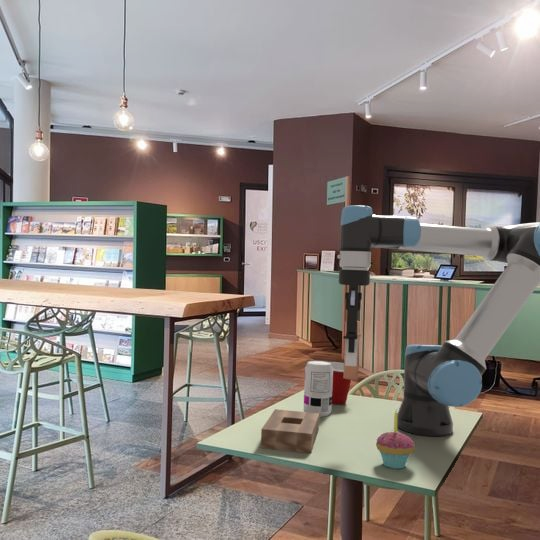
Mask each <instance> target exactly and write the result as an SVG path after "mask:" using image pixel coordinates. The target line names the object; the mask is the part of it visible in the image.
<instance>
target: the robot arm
mask: <svg viewBox="0 0 540 540" xmlns="http://www.w3.org/2000/svg"><path fill="white" fill-rule="evenodd" d="M339 226H340V240H339V241H340V242H339V243H340V245H339V254H337V259H339V267H340V268H341V269H339V271H338V283H339V285H341V286H348V291H346V292H345V295H344V296H345V297H344V298H345V310H346V321H347V333H346V336H345V335H344V336H343V339H344V340H345V339H346V357H345V366H357V337H358V336H357V322H358V321H359V312H360V311H361V304H362V303H361V301H362V299H363V292H360V290H359V289H360V286H362V287H363V286H365V287H366V286H369V285H370V284H371V283H370V282H371V280H370V279H371V271H370V270H369V269H370V268H371V263H372V261H371V259H372V258H371V257H372V252H371V251H372V248H373V249H381V248H382V249H393V250H396V249H397V250H405V251H419V252H427V253H428V252H430V253H439V254H440V253H441V254H442V253H443V254H453V255H454V254H455V255H464V256H465V255H466V256H478V257H482V258H483V259H484V260H485V261H492V262H499V263H503V264H504V263H505V264H507V266H505V268H504V269H503V271H502V273H501V274H500V275H499V277H498V278H497V280H496V281H495V283H494V284H493V286H491V288H490V289H489V291H488V293H487V294H486V295H484V298H483V299H482V301H481V302H480V303H479V304H478V306H477V307H476V309H475V310H474V312H473V313H472V314H471V316H470V317H469V319H468V320H467V321H466V323H465V324H464V326H463V327H462V328H461V330H460V331H459V333H458V334H457V335H456V337H455V338H454V339H450V340H445V341H444V343H443V344H441V345H440V344H438V345H437V344H409V345H407V346H406V347H405V354H404V370H403V372H404V373H403V397H402V400H401V402H400V405H399V408H398V411H397V412H396V413H397V429H400V430H401V431H403V432H407V433H410V434H415V435H419V436H429V437H430V436H431V437H441V436H448V435H450V434H452V433H453V431H454V430H453V429H454V423H453V419H452V415H451V411H450V408H449V407H452V408H460V407H464V406H467V405H469V404H472V402H473V401H475V400H476V399H477V398H478V397H479V395H480V393H481V392H482V388H483V382H482V379H483V377H482V376H483V374H484V373H485V372H486V370H487V365H486V358H487V357H488V355H489V354H490V353H491V352H492V350H493V349H494V348H495V346H496V344H497V343H498V342H499V340H500V339H501V337H502V336H503V335H504V333H506V331H507V329H508V328H509V327H510V326H511V324H512V322H513V321H514V319H515V318H516V316H517V315H518V314H519V312H520V311H521V309H522V308H523V307H524V305H525V304H526V302H527V301H528V300H529V298H530V297H531V296H532V294H533V293H534V292H535V290H536V289H537V287H538V286H539V285H540V221H538V222H527V223H519V224H512V225H502V226H498V225H497V226H496V225H489V226H487V227H486V228H477V227H476V228H475V227H466V226H455V225H442V224H432V223H431V224H430V223H421V222H420V220H419V219H418V218H417V217H414V216H407V215H404V216H403V215H378V214H377V215H376V214H374V212H373V208H372V207H371V206H368V205H361V204H359V205H357V204H356V205H346V206H344V207H343V208H342V210H341V217H340V225H339ZM361 334H362V333H361V332H359V337H361Z"/></svg>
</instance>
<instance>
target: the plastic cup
mask: <svg viewBox="0 0 540 540" xmlns="http://www.w3.org/2000/svg"><path fill="white" fill-rule="evenodd" d="M329 362H330V363H331V366H332V368H333V385H332V405H345V404H346V403H347V399H348V394H349V391H350V386H351V382H352V380H351V379H345V378H343V376H344V362H336V361H329Z"/></svg>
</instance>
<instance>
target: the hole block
mask: <svg viewBox="0 0 540 540" xmlns="http://www.w3.org/2000/svg"><path fill="white" fill-rule="evenodd" d="M319 428H320V417H319V413H311V412H304V411H298V410H287V409H286V410H285V409H278V408H277V409H274V410H273V411H272V413H271V414H270V416H269V417H268V419H267V421H266V422H265V423H264V425H263V426H262V427H261V430H260V432H261V433H260V435H261V437H260V448H261V449H267V450H268V449H269V450H279V451H287V452H296V453H297V452H298V453H306V454H309V453H310V454H311V453H312V451H313V448H314V445H315V442H316V439H317V436H318V433H319V432H320V431H319V430H320V429H319Z"/></svg>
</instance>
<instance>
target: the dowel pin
mask: <svg viewBox="0 0 540 540" xmlns="http://www.w3.org/2000/svg"><path fill="white" fill-rule="evenodd" d="M360 324H361V321H360V320H358V322H357V336H358V337H357V366H345V357H346V339H344V353H343V357H344V358H343V363H344V376H343V378H345V379H351V381H353V380H358V379H359V356H360V355H359V354H360V353H359V352H360V336H359V333H360V327H361V326H360ZM344 325H345V326H344V336H346V333H347V320H345V323H344Z"/></svg>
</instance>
